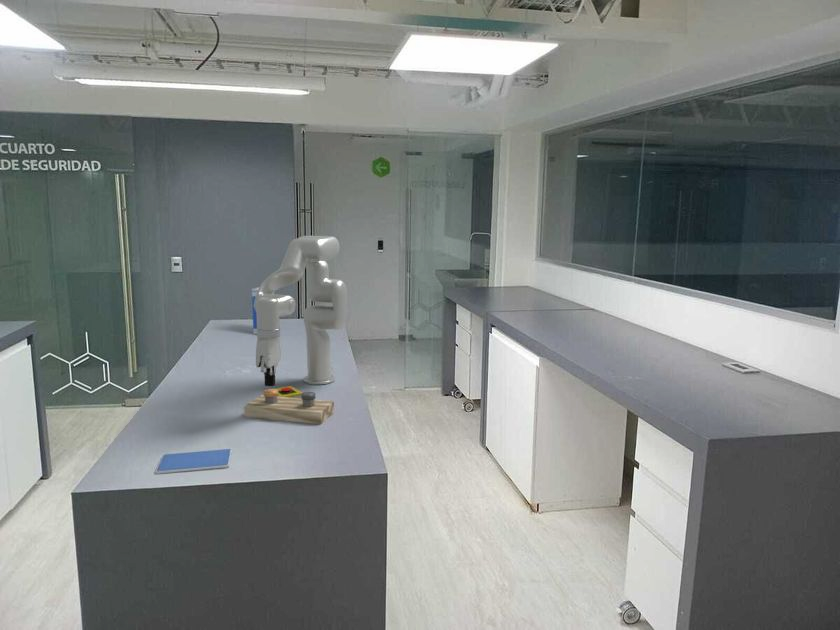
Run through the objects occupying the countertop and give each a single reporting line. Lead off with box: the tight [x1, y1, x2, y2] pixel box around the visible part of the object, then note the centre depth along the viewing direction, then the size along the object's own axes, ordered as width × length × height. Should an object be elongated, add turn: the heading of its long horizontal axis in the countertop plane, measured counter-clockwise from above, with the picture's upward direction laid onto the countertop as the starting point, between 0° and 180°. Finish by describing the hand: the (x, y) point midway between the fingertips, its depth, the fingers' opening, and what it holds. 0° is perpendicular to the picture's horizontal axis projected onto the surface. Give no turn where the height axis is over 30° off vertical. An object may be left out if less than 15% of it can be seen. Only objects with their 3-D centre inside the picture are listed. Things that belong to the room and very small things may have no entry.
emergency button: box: [275, 385, 303, 399], centre depth 229 cm, size 9×4×15 cm
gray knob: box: [301, 391, 316, 407], centre depth 209 cm, size 5×5×6 cm
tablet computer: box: [154, 448, 233, 475], centre depth 172 cm, size 19×13×1 cm, turn 103°
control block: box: [243, 394, 335, 425], centre depth 211 cm, size 12×28×4 cm, turn 77°
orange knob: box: [263, 388, 278, 404], centre depth 212 cm, size 5×5×6 cm
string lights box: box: [251, 286, 275, 335], centre depth 343 cm, size 13×8×26 cm, turn 167°
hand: (270, 385), depth 211 cm, fingers closed
